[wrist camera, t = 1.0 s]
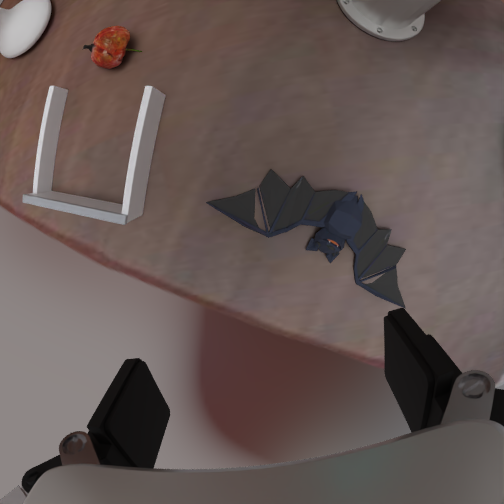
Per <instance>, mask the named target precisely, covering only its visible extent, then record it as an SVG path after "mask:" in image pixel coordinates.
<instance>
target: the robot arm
mask: <svg viewBox="0 0 504 504" xmlns="http://www.w3.org/2000/svg"><path fill="white" fill-rule="evenodd" d="M337 1H338V4H339V6H340V8H341V10H342V11H343V12H344V14H345V15H346V16H347V18H348V19H349V20H350V21H352V22H353V23H354V24H355V25H356V26H357V27H359V28H360V29H361V30H363V31H365V32H366V33H368V34H370V35H372V36H375V37H377V38H380V39H383V40H387V41H395V42H396V41H405V40H408V39H410V38H412V37H414V36H415V35H417V34H418V33H419V32H420V31H421V29H422V28H423V25H424V22H425V14H424V13H425V12H427V11H428V10H429V9H430V8H432V7H433V6H434V5H436V4H437V3H438V2H440V1H441V0H337ZM378 32H379V33H378ZM384 342H385V377H386V379H387V382H388V383H389V386H390V388H391V390H392V392H393V394H394V396H395V398H396V400H397V402H398V404H399V406H400V408H401V410H402V412H403V415H404V416H405V419H406V421H407V423H408V425H409V428H410V430H411V432H412V433H409V434H406V435H403V436H399V437H396V438H393V439H389V440H386V441H383V442H379V443H375V444H372V445H367V446H364V447H360V448H356V449H352V450H348V451H343V452H339V453H335V454H330V455H325V456H320V457H315V458H309V459H304V460H297V461H291V462H284V463H277V464H269V465H260V466H250V467H238V468H221V469H153V468H154V465H155V462H156V458H157V455H158V452H159V449H160V446H161V442H162V439H163V436H164V433H165V430H166V427H167V423H168V420H169V417H170V409H169V407H168V405H167V403H166V402H165V400H164V398H163V396H162V394H161V392H160V390H159V388H158V386H157V384H156V382H155V380H154V379H153V377H152V374H151V372H150V371H149V369H148V366H147V364H146V363H145V362H144V361H142V360H141V359H139V358H135V359H127V360H125V362H124V363H123V365H122V366H121V368H120V370H119V371H118V373H117V375H116V376H115V378H114V380H113V382H112V383H111V385H110V387H109V388H108V390H107V392H106V393H105V395H104V397H103V399H102V400H101V402H100V404H99V406H98V407H97V409H96V411H95V413H94V414H93V416H92V418H91V420H90V421H89V423H88V425H87V428H88V429H89V432H88V434H87V433H85V432H82V431H76V432H73V433H70V434H69V435H67V436H66V437H65V438H63V440H62V441H61V443H60V445H59V453H60V455H58V456H56V457H54V458H52V459H50V460H48V461H46V462H44V463H42V464H40V465H38V466H36V467H34V468H32V469H30V470H29V471H27V472H26V473H25V475H24V476H23V479H22V487H20V486H19V485H18V486H17V487H16V488H14V489H13V490H12V491H11V492H9V493H8V494H7V495H6V496H4V497H3V498H2V499H1V500H0V504H504V390H501V389H496V388H495V382H494V380H493V378H492V377H491V376H490V375H489V374H487V373H485V372H483V371H479V370H471V371H467V372H465V373H463V374H462V372H461V371H460V370H459V369H458V367H457V366H456V365H455V363H454V362H453V361H452V360H451V358H450V357H449V356H448V355H447V353H446V352H445V351H444V350H443V349H442V347H441V346H440V345H439V344H438V342H437V341H436V340H435V339H434V338H433V337H432V336H431V335H429V334H428V335H426V334H425V333H424V332H423V331H422V329H421V328H420V327H419V326H418V325H417V323H416V322H415V321H414V320H413V319H412V317H411V316H410V315H409V314H408V313H407V312H406V310H405V309H404V308H399V309H396V310H392V311H389V312H388V316H385V317H384Z"/></svg>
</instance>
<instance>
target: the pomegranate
mask: <svg viewBox="0 0 504 504" xmlns="http://www.w3.org/2000/svg"><path fill="white" fill-rule="evenodd" d="M129 40H130V32H129V31H128V30H126V28H124V27H121V26H112V27H108V28H105V29H103V30H102V31H101V32H100V33H98V35H97V36H96V37H95V39H94V42H93V44H91V45H84V47H83V49H86V48H87V49H89V50H90V51H91V52H92V55H91V59H92V61H93V62H94V63H95V64H96V65H97V66H100V67H103V68H107V69H111V68H114V67H116V66H118V65H119V64H120V63H121V62H122V58H123V56H124V55H125V52H126V51H138V50H134V49H126V46H127V44H128V42H129ZM139 52H142V51H139Z"/></svg>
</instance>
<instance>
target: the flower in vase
mask: <svg viewBox="0 0 504 504" xmlns="http://www.w3.org/2000/svg"><path fill="white" fill-rule="evenodd" d="M50 15H51V2H50V0H23V1H21V2H20V3H18V4H17V5H16V6H14V7H13V8H12V9H9V10H7V9H3V8H1V7H0V52H1V54H2V55H3V56H4V57H6V58H14V57H17V56H19V55H21V54H23V53H24V52H26V51H27V50H28V49H30V48H31V47H32V46H33V45H34V44H35V43H36V41H37V40H38V39H39V38H40V36H41V35H42V33H43V32H44V30H45V28H46V26H47V24H48V22H49V19H50Z"/></svg>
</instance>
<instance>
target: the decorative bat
mask: <svg viewBox="0 0 504 504" xmlns="http://www.w3.org/2000/svg"><path fill="white" fill-rule="evenodd" d="M259 187H260V191H261V195H262V199H263V203H264V207H265V211H266V215H267V219H268V223H269V226H270V231H269V232H268V228H267V224H266V221H265V217H264V212H263V207H262V202H261V197H260V193H259V188H258V189H257V190H258V195H259V199H260V204H261V208H262V213H263V218H264V222H265V228H266V232H265V231H263V230H261V229H259V227H258V225H257V223H256V221H255V219H254V213H255V189H252V190H250V191H248V192H245V193H243V194H240V195H238V196H236V197H231V198H226V199H220V200H215V201H210V202H206V203H207V204H209V205H211V206H212V207H214V208H215V209H217V210H219V211H220V212H222V213H223V214H225V215H227V216H228V217H230V218H231V219H233V220H235V221H236V222H238V223H239V224H241V225H243V226H244V227H247V228H249V229H251V230H254V231H256V232H258V233H260V234H263V235H265V236H266V237H268V238H269V237H272V236H275V235H278V234H281V233H284V232H287V231H289V230H291V229H293V228H295V227H297V226H298V225H311V226H316V227H324V228H322V229H321V230H320V231H318V232H317V233H316V234H315V238H314V239H313V238H311V240H310V242H309V244H308V246H307V248H306V250H310V251H317V250H318V249H319V250H320V251H321V252H323V253H327V255H326V257H327V258H328V260H329V262H330V263H331V262H332V261H333V260H334V259H335V258H336V257H337V256H338V255H339V253H338V252H339V251H340V250H342V249H343V248H344V243H345V240H347V243H348V245H349V246H350V247H351V249H352V250H353V251H354V252H355V254H356V255H355V261H354V275H355V282H356V284H357V285H359V286H361V287H362V288H364V289H366V290H367V291H369V292H371V293H372V294H374V295H375V296H377V297H380V298H382V299H384V300H387V301H389V302H392V303H394V304H396V305H399V306H401V307H403V308H405V305H404V302H403V299H402V297H401V294H400V291H399V288H398V284H397V271H396V264H397V263H398V261H399V260H400V258H401V256H402V255H403V253H404V252H405V250H406V249H403V248H399V247H394V246H389V245H387V242H388V239H389V236H390V233H391V230H392V229H384V230H378V229H377V227H376V224H375V221H374V218H373V216H372V213H371V211H370V210H369V208H368V207H367V205H366V204H365V202H364V200H363V198H362V195H361V196H360V198H359V201H358V197H357V196H355V195H356V193H357V192H344V191H338V190H330V191H320V192H315V191H314V190H313V189H312V187H311V186H310V184H309V183H308V182H307V180H306V179H305V178H304V176H303V177H302V178H301V179H300V180H299V181H298V182H297V183H296V184H295V185H294V186H293V187H292V188H291V189H290V188H289V187H288V186H287V185H286V184H285V183H284V181H283V180H282V179H281V178H280V177H279V176H278V175H277V174H276V173H275V172H274V171H273V170H272V169H271V170H270V171H269V173H268V174H267V176H266V177H265V178H264V180H263V181H262V183H261V184H260V186H259ZM273 231H274V232H273ZM390 267H391V268H390ZM387 268H389V269H387ZM385 269H386V270H385ZM382 270H384V271H382ZM380 271H382V272H380ZM377 272H380V273H377ZM385 272H386V273H385ZM374 273H377V274H375V275H373V276H370V277H368V278H366V279H363V280H360V279H361V278H363V277H366V276H369V275H372V274H374ZM383 273H385V274H383ZM380 274H383V275H382V276H381V277H379V278H378V279H377V280H375V281H374V282H373V283H370V284H363V283H361V282H362V281H365V280H367V279H370V278H373V277H375V276H378V275H380Z"/></svg>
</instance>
